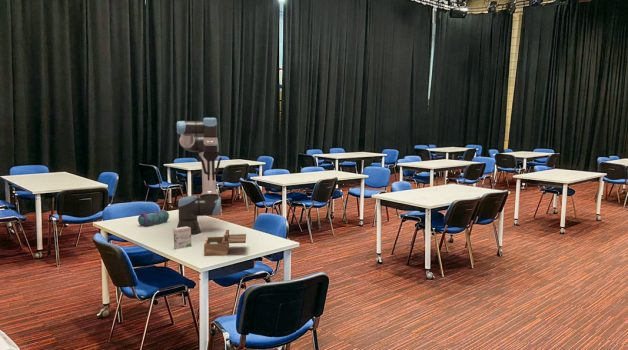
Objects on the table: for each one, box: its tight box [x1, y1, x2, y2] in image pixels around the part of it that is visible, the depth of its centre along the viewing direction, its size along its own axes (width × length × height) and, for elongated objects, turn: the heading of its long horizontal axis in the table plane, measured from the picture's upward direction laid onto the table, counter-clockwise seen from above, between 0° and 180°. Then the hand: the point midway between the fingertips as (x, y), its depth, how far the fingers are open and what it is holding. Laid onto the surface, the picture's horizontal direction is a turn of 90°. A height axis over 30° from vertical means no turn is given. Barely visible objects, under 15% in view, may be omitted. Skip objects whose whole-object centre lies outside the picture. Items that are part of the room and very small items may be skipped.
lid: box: [222, 229, 247, 244], centre depth 260 cm, size 17×12×4 cm
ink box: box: [172, 227, 192, 250], centre depth 269 cm, size 9×5×12 cm, turn 131°
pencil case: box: [137, 208, 170, 227], centre depth 330 cm, size 21×9×10 cm, turn 152°
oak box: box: [203, 236, 230, 257], centre depth 260 cm, size 16×12×7 cm
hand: (211, 186), depth 274 cm, fingers closed
